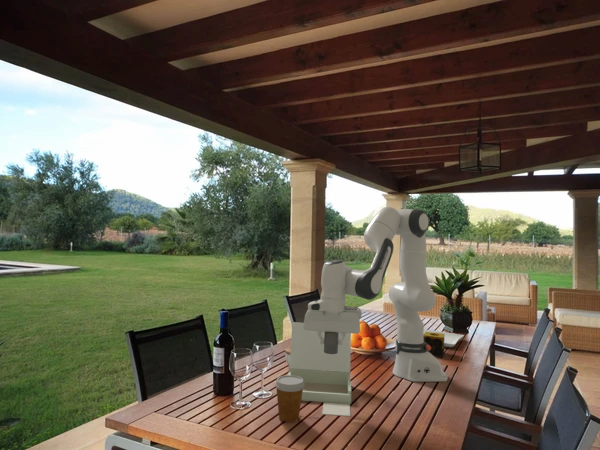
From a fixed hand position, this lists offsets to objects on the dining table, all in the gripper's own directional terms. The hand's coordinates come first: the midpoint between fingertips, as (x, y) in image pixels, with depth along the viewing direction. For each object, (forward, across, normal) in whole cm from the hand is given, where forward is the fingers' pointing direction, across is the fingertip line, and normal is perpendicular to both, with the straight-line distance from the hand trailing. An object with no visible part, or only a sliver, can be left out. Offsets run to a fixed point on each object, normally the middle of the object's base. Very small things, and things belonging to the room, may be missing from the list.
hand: (331, 344), depth 142 cm
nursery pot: (+3, 0, 0) cm, 3 cm away
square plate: (+19, -57, -97) cm, 114 cm away
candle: (+19, -50, -70) cm, 88 cm away
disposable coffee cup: (+20, +12, +16) cm, 29 cm away
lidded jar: (+20, +16, -34) cm, 42 cm away
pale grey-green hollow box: (+20, +4, -9) cm, 22 cm away
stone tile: (+20, -3, +9) cm, 22 cm away
